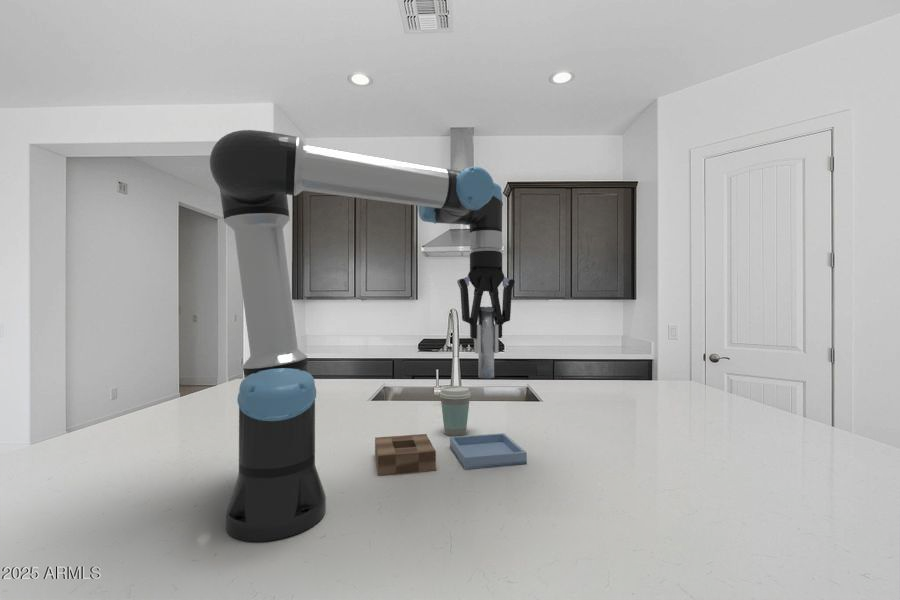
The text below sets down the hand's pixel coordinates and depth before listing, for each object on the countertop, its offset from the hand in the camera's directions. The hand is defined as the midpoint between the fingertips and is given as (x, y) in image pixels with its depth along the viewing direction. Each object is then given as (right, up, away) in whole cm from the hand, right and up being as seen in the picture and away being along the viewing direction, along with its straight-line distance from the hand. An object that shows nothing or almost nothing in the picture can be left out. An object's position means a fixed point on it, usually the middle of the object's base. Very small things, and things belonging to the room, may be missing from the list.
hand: (486, 352), depth 97 cm
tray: (0, -24, 0) cm, 24 cm away
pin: (0, -6, 0) cm, 6 cm away
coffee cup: (-7, -24, +17) cm, 30 cm away
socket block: (-19, -24, -4) cm, 30 cm away
